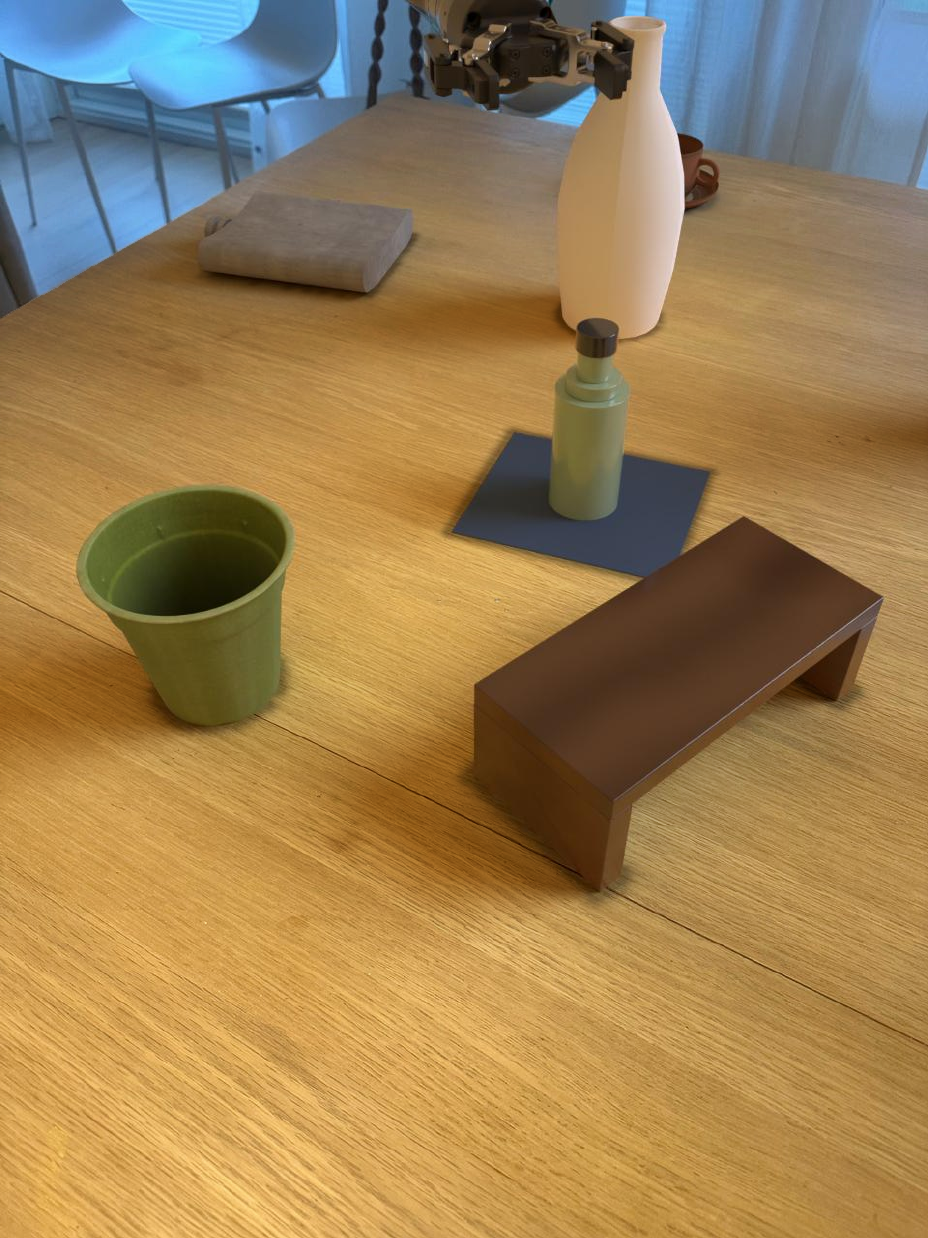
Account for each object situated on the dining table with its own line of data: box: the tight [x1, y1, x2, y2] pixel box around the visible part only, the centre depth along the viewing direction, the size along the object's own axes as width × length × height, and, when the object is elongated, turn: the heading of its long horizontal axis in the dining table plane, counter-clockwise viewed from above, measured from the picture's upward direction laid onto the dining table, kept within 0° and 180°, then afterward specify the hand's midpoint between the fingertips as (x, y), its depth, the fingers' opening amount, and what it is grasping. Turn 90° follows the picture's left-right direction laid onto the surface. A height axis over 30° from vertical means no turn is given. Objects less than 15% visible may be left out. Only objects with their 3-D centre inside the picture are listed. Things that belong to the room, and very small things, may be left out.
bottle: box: [556, 15, 686, 340], centre depth 92 cm, size 11×11×25 cm
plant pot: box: [75, 484, 296, 727], centre depth 62 cm, size 12×12×11 cm
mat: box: [451, 431, 711, 579], centre depth 79 cm, size 16×14×1 cm
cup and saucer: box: [677, 132, 720, 210], centre depth 120 cm, size 12×12×6 cm
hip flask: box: [196, 190, 414, 294], centre depth 109 cm, size 16×4×20 cm
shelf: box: [473, 515, 885, 893], centre depth 60 cm, size 10×22×8 cm, turn 130°
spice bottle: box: [548, 318, 632, 521], centre depth 74 cm, size 5×5×14 cm
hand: (557, 88), depth 69 cm, fingers open, 8 cm apart
